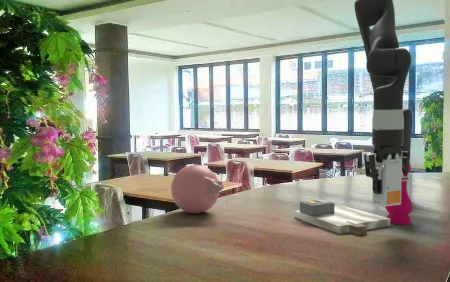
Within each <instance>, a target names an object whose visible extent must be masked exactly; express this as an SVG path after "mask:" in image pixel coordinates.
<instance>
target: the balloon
mask: <svg viewBox="0 0 450 282" xmlns="http://www.w3.org/2000/svg"><path fill="white" fill-rule="evenodd" d="M170 189H171V190H170V193H171V198H172V200H173V202H174V204H176V206H177V207H178V208H179V209H180V210H182V211H184V212H186V213H189V214H201V213H204V212H206V211H208V210H210V209H211V208H213V206H214V205H215V204H216V202H217V201H218V199H219V195H220V192H221V191H222V190H224V185H223V181H222V180H219V179H218V177H217V175H216V174H215V172H213V171H212V169H210V168H209V167H207V166H204V165H200V164H190V165H187V166H185V167H182V168H181V169H180V170H178V171H177V173H175V175H174V177H173V179H172V182H171V188H170Z"/></svg>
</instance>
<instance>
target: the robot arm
mask: <svg viewBox="0 0 450 282" xmlns="http://www.w3.org/2000/svg"><path fill="white" fill-rule="evenodd" d="M354 13H355V17H356V22H357V25H358V28H359V29H358V30H359V32H360V37H361V39H362V43H363V49H364V52H365V57H366V65H365V66H366V72H368V75H369V79H370V82H371V86H372V90H373V111H372V112H373V113H372V117H371V118H372V120H371V121H372V124H371V125H372V127H371V131H372V133H371V135H372V136H371V137H372V138H371V145H372V146H373V147H374V150H373V152H372V153H371V152H370V153H364V154H363V160H364V171H365V176H366V177H367V178H371V179H372V193H373V192H374V193H375V194H382V180H380V179H381V178H382V175H383V171H384V169H385V163H384V164H383V165H382V166H381V167H377V166H376V165H375V161H376V162H377V163H382V161H383V160H391V159H402V177H403V175H405V174H408V176H409V177H408V179H409V180H408V181H407V193H408V196H409V198H410V200H411V201H412V188H413V186H412V185H413V183H412V181H413V180H412V178H413V175H412V174H411V171H410V172H409V173H408V170H409V163H410V164H411V148H412V147H411V145H412V130H413V129H412V128H413V114H412V113H413V112H412V111H411V109H410V108H404V91H405V84H406V81H407V78H408V77H407V76H408V75H409V71H410V68H411V66H412V55H411V53H410V51H409V50H408V49H407V48H403V47H400V44H399V43H400V42H399V40H398V35H397V32H396V13H395V5H394V0H355V2H354ZM371 27H372V29H371ZM403 164H404V169H403ZM377 170H379V172H378V174H377ZM401 188H402V182H401Z"/></svg>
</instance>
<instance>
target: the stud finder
mask: <svg viewBox="0 0 450 282" xmlns="http://www.w3.org/2000/svg"><path fill="white" fill-rule="evenodd" d="M334 206H336V204H335V202H332V201H329V200H325V199H321V198H320V199H314V200H312V199H311V200H304V201H299V210H300V212H302V213H305V214H308V215H311V216H315V215H323V214H331V213H334Z"/></svg>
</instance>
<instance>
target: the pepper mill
mask: <svg viewBox="0 0 450 282" xmlns="http://www.w3.org/2000/svg"><path fill="white" fill-rule="evenodd" d="M403 169H404V164H403ZM411 170H412V165H411V162H410V163H409V170H408V173H409V172H410V173H411ZM408 177H409V176H408V174H405V175H403V177H402V188H401V204H400V205H392V206H386V207H384V208H385V210H386V212H387V213H388V214H386V218H389V219H390V224H392V225H393V224H394V225H400V226H401V225H403V226H404V225H405V224H406V225H410V224H411V216H410V214H411V213H412V212H413V202H412V199H411V200H410V198H409V196H408V193H407V181H408V180H409V179H408Z"/></svg>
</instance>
